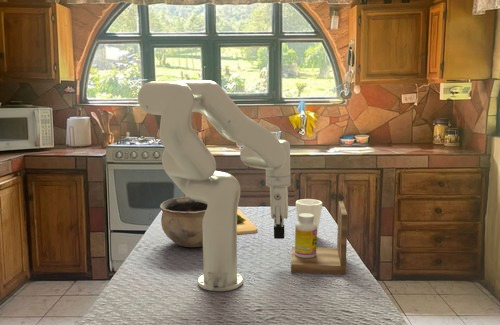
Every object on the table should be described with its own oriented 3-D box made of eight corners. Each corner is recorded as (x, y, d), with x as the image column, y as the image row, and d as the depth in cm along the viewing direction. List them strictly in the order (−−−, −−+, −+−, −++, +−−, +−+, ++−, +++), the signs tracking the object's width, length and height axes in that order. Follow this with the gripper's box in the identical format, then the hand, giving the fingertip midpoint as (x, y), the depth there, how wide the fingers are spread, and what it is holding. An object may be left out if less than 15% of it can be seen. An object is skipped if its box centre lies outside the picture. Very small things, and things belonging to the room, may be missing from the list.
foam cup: (291, 238, 182) (291, 203, 180) (301, 231, 190) (301, 198, 188) (316, 242, 178) (316, 206, 175) (325, 235, 186) (325, 200, 184)
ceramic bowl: (235, 248, 171) (235, 205, 169) (174, 259, 161) (173, 213, 159) (208, 231, 191) (208, 192, 188) (153, 240, 180) (151, 199, 178)
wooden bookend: (345, 274, 148) (347, 214, 145) (290, 272, 150) (291, 213, 147) (341, 255, 164) (343, 201, 161) (292, 254, 166) (292, 200, 163)
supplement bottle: (314, 259, 153) (315, 218, 151) (293, 257, 155) (293, 217, 153) (317, 252, 159) (318, 213, 157) (297, 250, 161) (297, 211, 159)
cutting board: (183, 215, 217) (183, 197, 216) (237, 211, 223) (237, 194, 222) (196, 239, 184) (196, 219, 182) (259, 234, 189) (259, 214, 188)
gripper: (289, 186, 147) (290, 246, 150) (291, 175, 161) (291, 230, 165) (264, 186, 147) (265, 246, 151) (267, 175, 162) (268, 230, 165)
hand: (279, 237), depth 158 cm, fingers closed
